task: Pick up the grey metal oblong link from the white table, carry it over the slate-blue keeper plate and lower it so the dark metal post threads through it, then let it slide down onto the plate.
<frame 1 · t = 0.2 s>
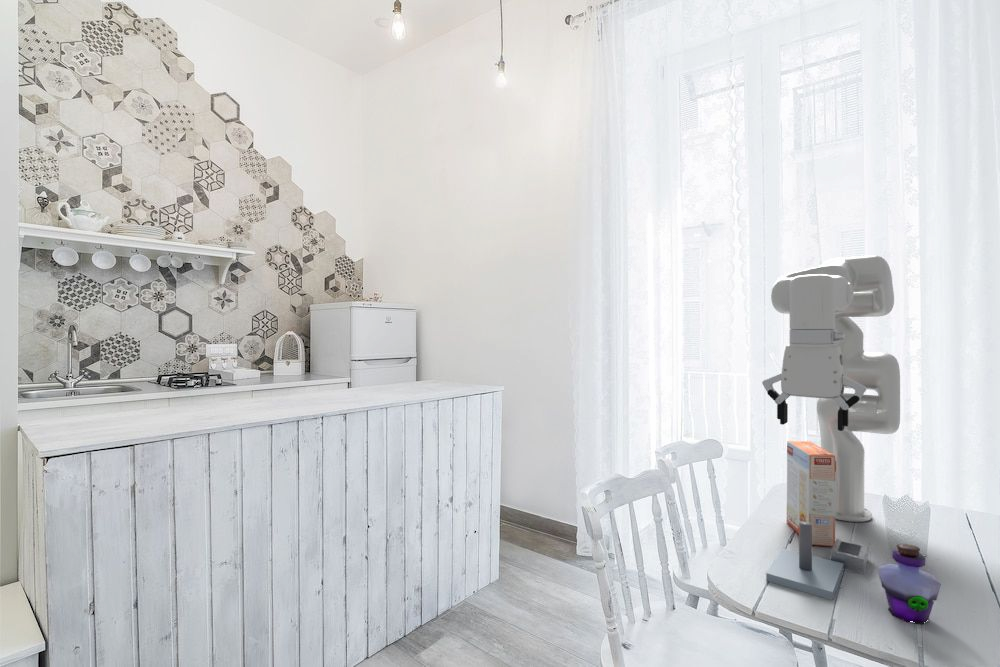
hand: (811, 426, 98), 30 cm above the table, tool pointing down, fingers open, 9 cm apart
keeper: (805, 575, 101), on the table
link: (849, 562, 106), on the table
potion bottle: (908, 616, 87), on the table
cracker box: (810, 535, 120), on the table
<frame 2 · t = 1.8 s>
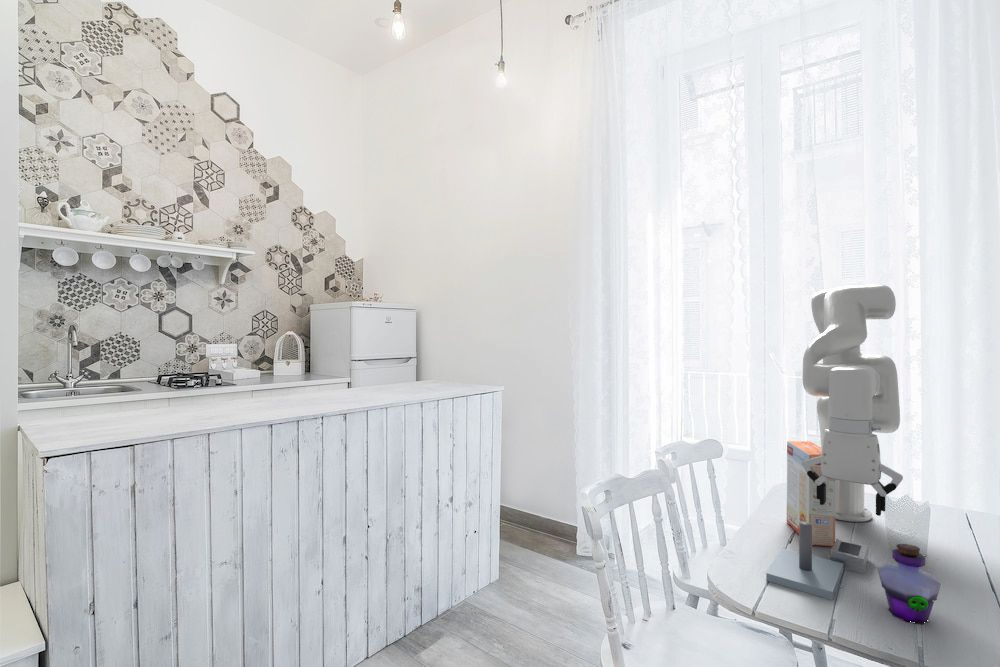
hand: (849, 508, 105), 12 cm above the table, tool pointing down, fingers open, 9 cm apart
nothing on the table moved.
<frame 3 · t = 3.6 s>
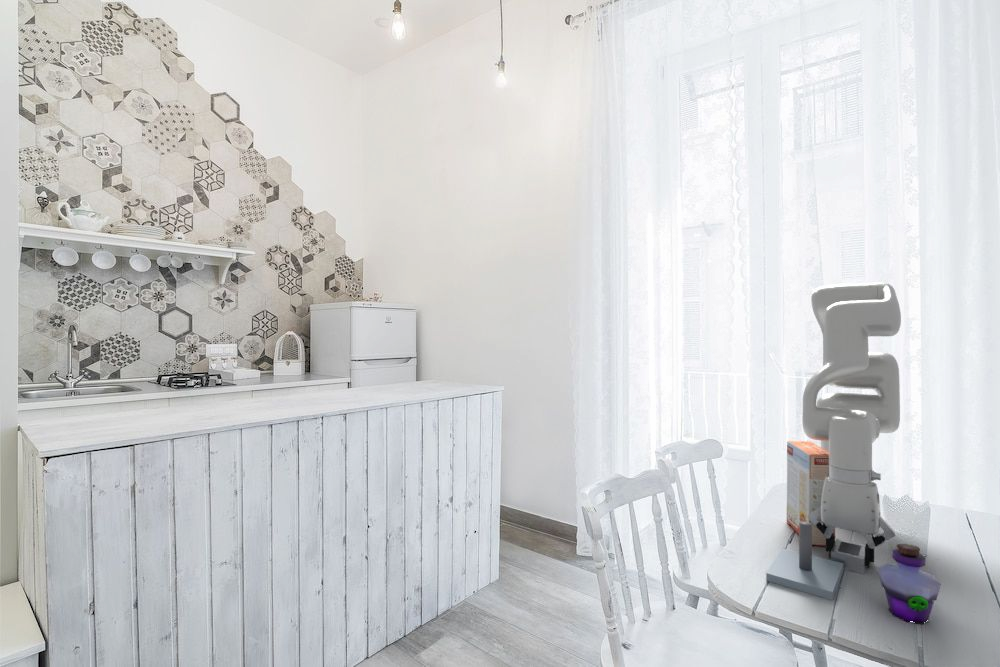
hand: (849, 559, 106), 1 cm above the table, tool pointing down, fingers closed on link, 5 cm apart
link: (849, 562, 106), on the table, touching gripper
everything else where it was.
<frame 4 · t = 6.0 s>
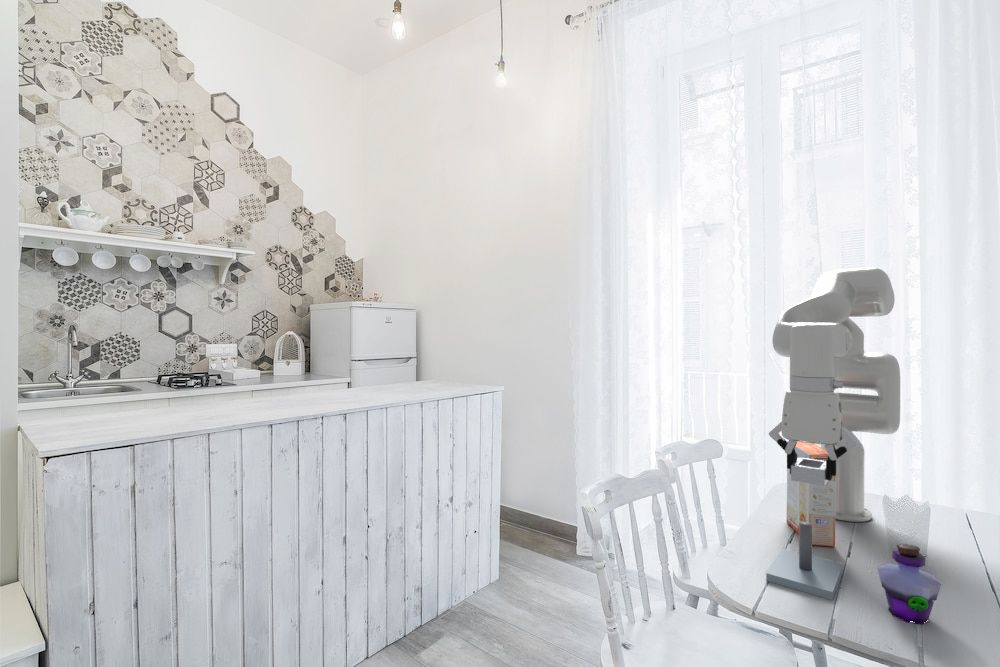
hand: (811, 474, 101), 20 cm above the table, tool pointing down, fingers closed on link, 5 cm apart
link: (811, 478, 101), point 20 cm above the table, touching gripper
everything else where it was.
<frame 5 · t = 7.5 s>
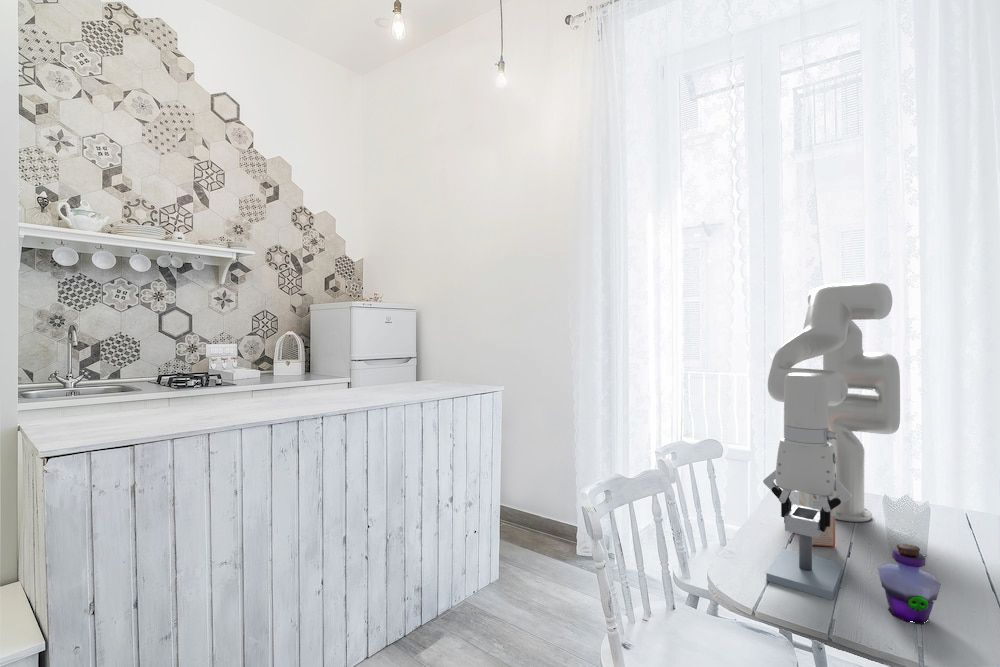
hand: (805, 524, 101), 10 cm above the table, tool pointing down, fingers closed on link, 5 cm apart
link: (805, 528, 101), point 10 cm above the table, touching gripper
everything else where it was.
when the fingers open (8 cm above the table, at t = 8.7 s): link drops 6 cm, resting on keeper.
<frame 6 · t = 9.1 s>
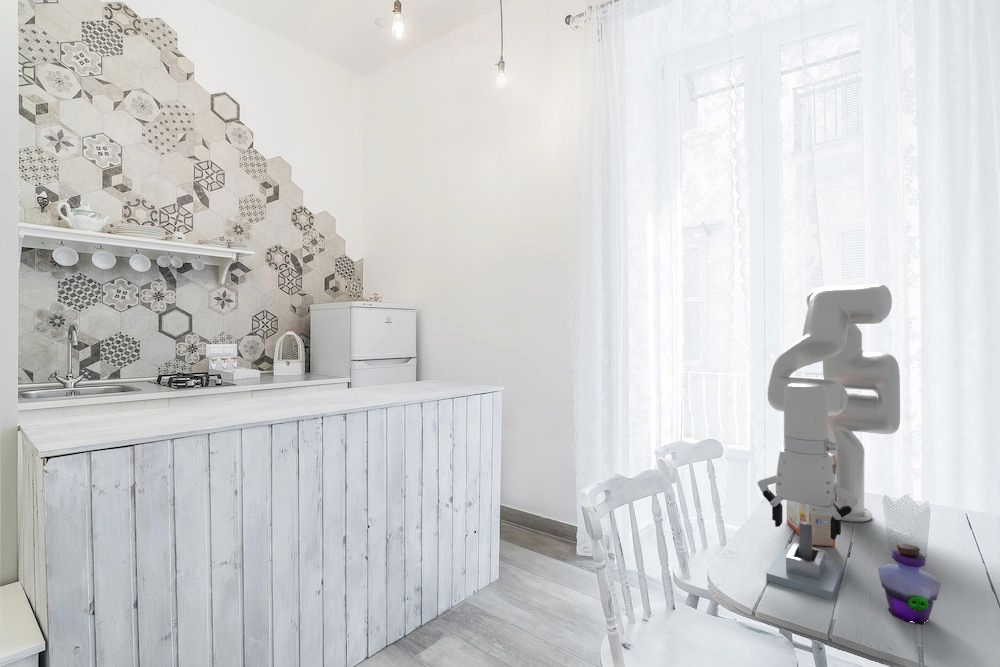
hand: (805, 530, 101), 9 cm above the table, tool pointing down, fingers open, 9 cm apart
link: (805, 568, 101), point 1 cm above the table, touching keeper
everything else where it was.
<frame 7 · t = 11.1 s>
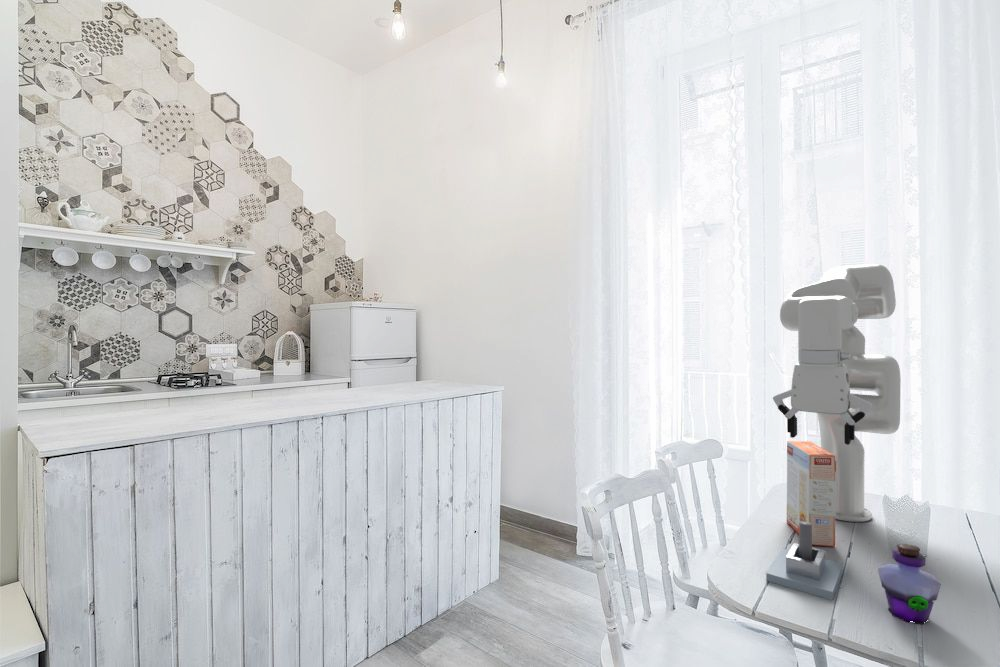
hand: (819, 439, 105), 26 cm above the table, tool pointing down, fingers open, 9 cm apart
nothing on the table moved.
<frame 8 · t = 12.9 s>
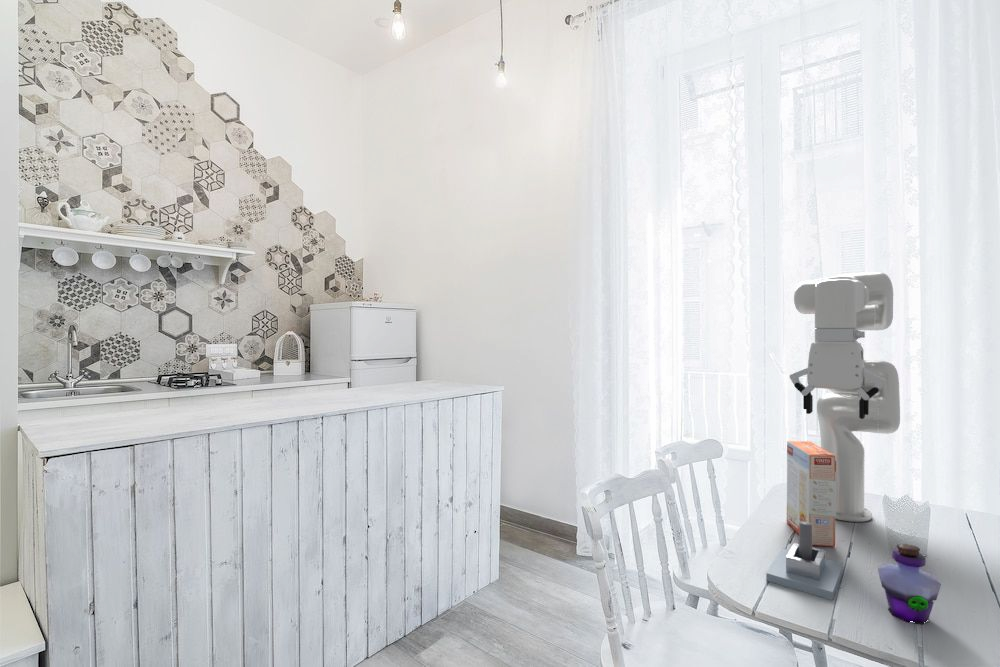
hand: (835, 415, 110), 30 cm above the table, tool pointing down, fingers open, 9 cm apart
nothing on the table moved.
at the end: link 0.1 cm off-centre on the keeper, point 1.5 cm above the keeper's base; the gripper is holding nothing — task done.
